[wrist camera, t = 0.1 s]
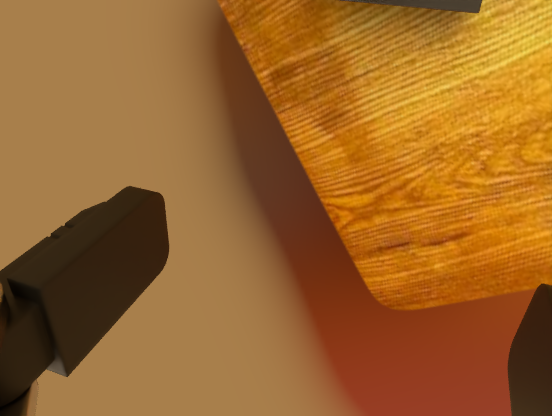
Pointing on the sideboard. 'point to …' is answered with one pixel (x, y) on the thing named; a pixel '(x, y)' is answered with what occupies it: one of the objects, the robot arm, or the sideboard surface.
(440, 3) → the knife block
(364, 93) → the sideboard surface
